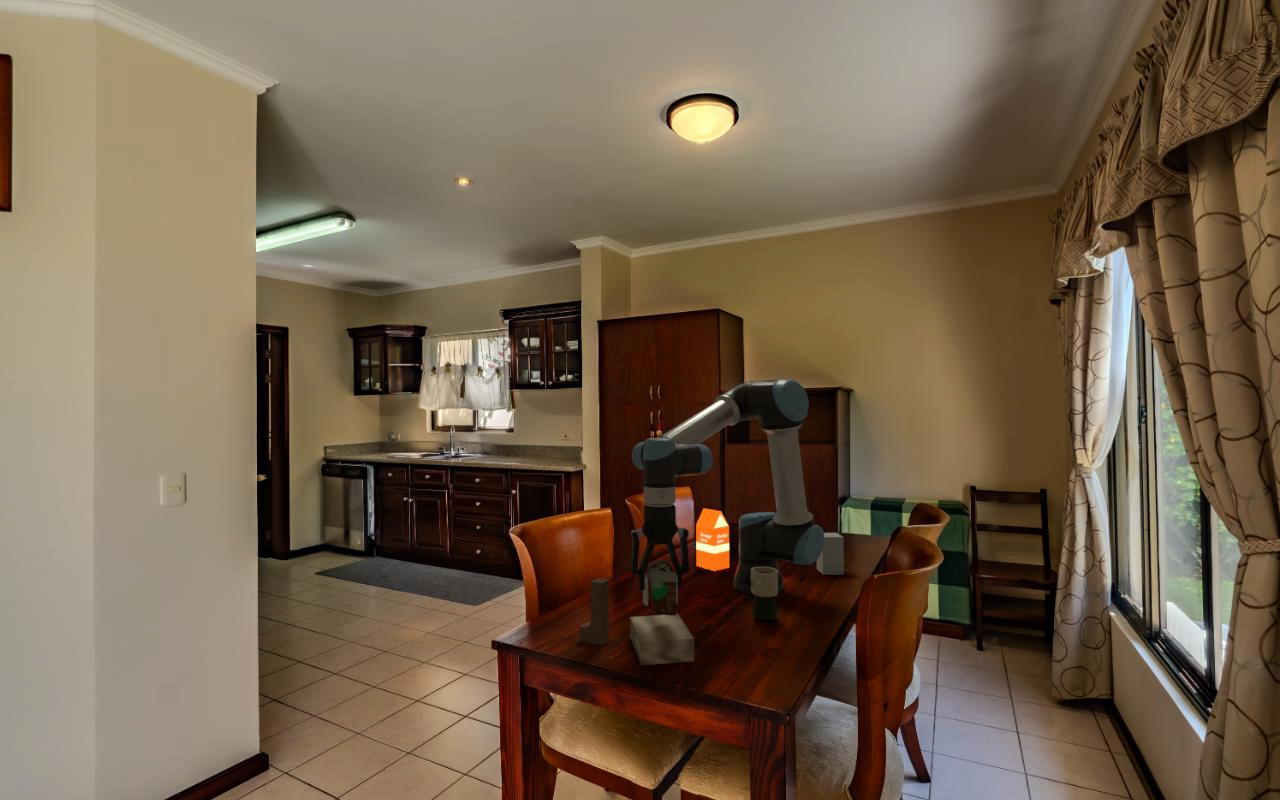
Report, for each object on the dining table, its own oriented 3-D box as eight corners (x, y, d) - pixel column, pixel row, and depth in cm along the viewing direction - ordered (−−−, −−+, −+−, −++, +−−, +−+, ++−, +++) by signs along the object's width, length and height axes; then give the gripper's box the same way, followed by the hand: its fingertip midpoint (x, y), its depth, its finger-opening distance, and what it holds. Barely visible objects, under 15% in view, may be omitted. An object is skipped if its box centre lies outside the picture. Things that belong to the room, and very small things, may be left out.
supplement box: (844, 575, 200) (844, 537, 200) (822, 575, 200) (821, 537, 200) (837, 569, 207) (837, 532, 207) (816, 569, 207) (815, 532, 207)
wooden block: (609, 641, 145) (608, 579, 145) (602, 646, 142) (602, 583, 142) (586, 637, 148) (585, 576, 148) (579, 641, 145) (578, 579, 145)
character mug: (758, 610, 166) (757, 563, 166) (783, 614, 163) (783, 566, 163) (745, 623, 156) (744, 573, 157) (771, 628, 153) (771, 576, 153)
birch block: (678, 634, 150) (677, 613, 150) (694, 661, 134) (694, 638, 134) (630, 637, 148) (630, 617, 148) (641, 665, 132) (641, 642, 132)
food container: (644, 600, 146) (644, 559, 147) (669, 599, 147) (669, 559, 147) (649, 618, 134) (649, 573, 134) (677, 617, 135) (676, 572, 135)
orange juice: (711, 562, 217) (710, 506, 217) (729, 567, 210) (729, 510, 210) (696, 566, 212) (695, 509, 212) (714, 571, 205) (713, 512, 205)
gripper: (621, 508, 136) (621, 610, 135) (703, 505, 139) (704, 605, 139) (616, 503, 143) (617, 600, 143) (695, 500, 146) (696, 595, 146)
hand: (660, 602), depth 141 cm, fingers closed on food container, 6 cm apart
